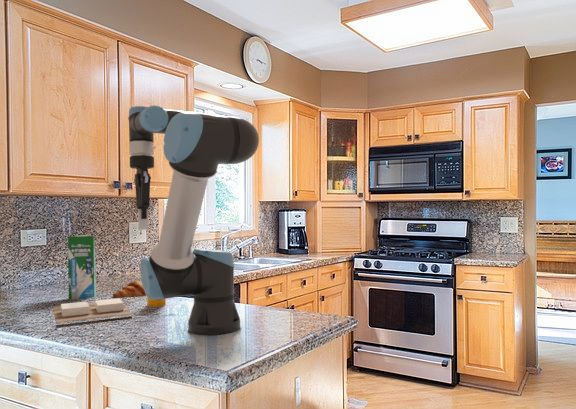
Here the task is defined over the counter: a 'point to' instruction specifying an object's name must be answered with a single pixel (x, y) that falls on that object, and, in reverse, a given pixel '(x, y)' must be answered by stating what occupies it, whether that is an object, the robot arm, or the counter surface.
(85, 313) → the tile
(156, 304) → the beer can
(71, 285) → the milk carton
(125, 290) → the croissant
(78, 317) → the board
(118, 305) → the tile
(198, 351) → the counter surface
